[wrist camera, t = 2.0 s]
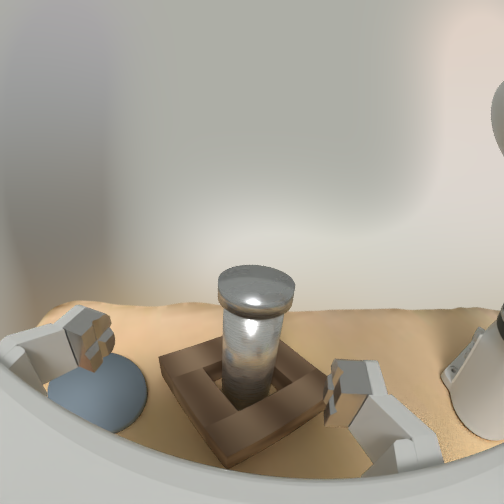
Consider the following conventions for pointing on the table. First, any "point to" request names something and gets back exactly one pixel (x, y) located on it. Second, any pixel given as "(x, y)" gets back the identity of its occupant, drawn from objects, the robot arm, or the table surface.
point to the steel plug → (251, 329)
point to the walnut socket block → (253, 417)
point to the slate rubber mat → (103, 393)
